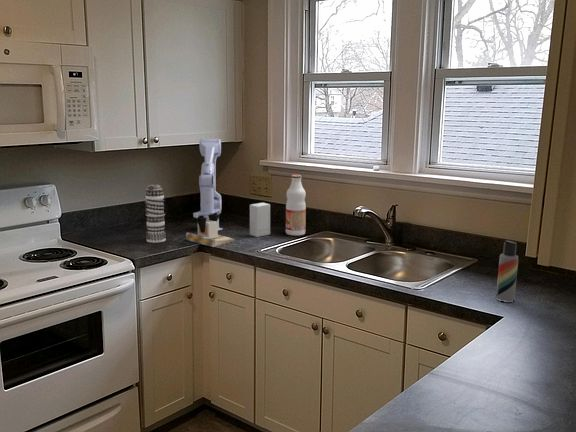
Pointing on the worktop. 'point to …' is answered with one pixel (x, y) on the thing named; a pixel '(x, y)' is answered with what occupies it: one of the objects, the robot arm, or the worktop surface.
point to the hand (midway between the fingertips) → (207, 231)
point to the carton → (209, 229)
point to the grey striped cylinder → (155, 213)
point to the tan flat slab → (209, 239)
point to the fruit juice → (295, 207)
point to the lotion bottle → (507, 272)
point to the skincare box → (259, 219)
